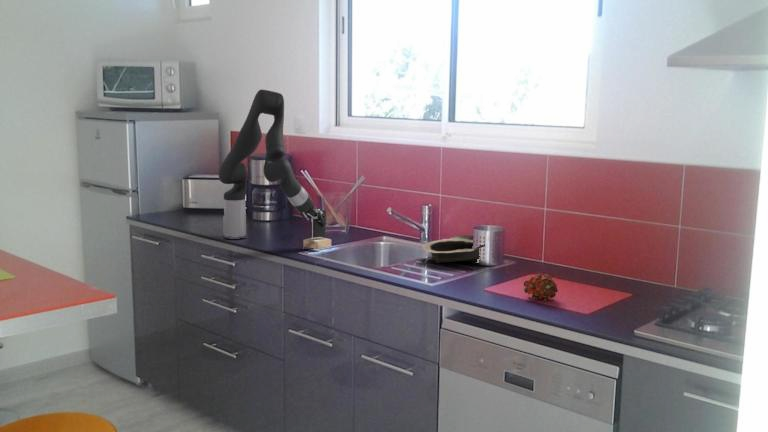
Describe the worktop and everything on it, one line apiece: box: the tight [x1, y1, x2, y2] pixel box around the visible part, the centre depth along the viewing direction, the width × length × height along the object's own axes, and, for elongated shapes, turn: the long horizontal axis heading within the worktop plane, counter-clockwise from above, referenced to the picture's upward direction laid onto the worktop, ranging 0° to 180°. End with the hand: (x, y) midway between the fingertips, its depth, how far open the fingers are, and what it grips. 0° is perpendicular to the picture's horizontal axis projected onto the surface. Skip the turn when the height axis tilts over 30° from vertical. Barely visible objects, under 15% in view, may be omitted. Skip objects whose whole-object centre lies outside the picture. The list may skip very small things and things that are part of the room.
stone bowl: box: [421, 234, 486, 265], centre depth 271 cm, size 25×25×9 cm
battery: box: [308, 208, 327, 238], centre depth 291 cm, size 7×4×11 cm, turn 139°
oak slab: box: [302, 236, 332, 249], centre depth 293 cm, size 8×8×4 cm
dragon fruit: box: [523, 273, 559, 302], centre depth 220 cm, size 8×8×12 cm
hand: (320, 224), depth 293 cm, fingers closed on battery, 4 cm apart
